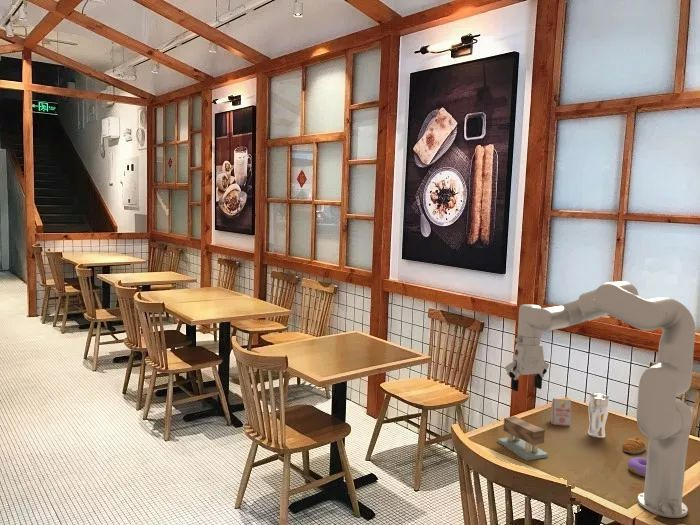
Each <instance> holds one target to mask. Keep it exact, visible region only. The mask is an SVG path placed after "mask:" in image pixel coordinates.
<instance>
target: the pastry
mask: <svg viewBox="0 0 700 525" xmlns="http://www.w3.org/2000/svg"><path fill="white" fill-rule="evenodd" d="M646 449H647V445H646V444H645V442H644V440H642V439H641V438H639V437H629V438H627V439H626V440H625V441H623V443H622V451H623V452H625V453H628V454H631V455H635V454H640V453H643V452H644V451H645V450H646Z"/></svg>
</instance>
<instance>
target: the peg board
mask: <svg viewBox="0 0 700 525" xmlns="http://www.w3.org/2000/svg"><path fill="white" fill-rule="evenodd" d="M497 442H498V443H499V444H500V443H501V444H500V445H502V446H503V445H504V447H505V448H506V447H507V448H506V449H508V450H509V449H510V450H509V451H510V452H512V451H513V453H514V454H515V453H516V454H515V455H517V456H518V457H519V458H522V459H523V460H524V459H525V460H524V461H533V460H539V459H546V458H549V453H547V452H546V451H544V450H542V449H541V448H539V444H537V445H532V444H530V443H528V442H526V441H524V440H522V439H520V438H518V437H516V436H514V435H512V434H509V433H507V437H501V438H497Z"/></svg>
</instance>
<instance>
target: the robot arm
mask: <svg viewBox="0 0 700 525" xmlns="http://www.w3.org/2000/svg"><path fill="white" fill-rule="evenodd" d="M609 315H610V316H611V317H614V318H616V319H617V320H620V321H621V322H623V323H625V324H627V325H630V326H632V327H634V328H635V329H639V330H641V331H655V330H658V329H659V330H660V329H661V330H662V333H661V336H660V339H659V344H658V351H657V352H658V353H657V360H656V363H655V364H654V365H651V366H649V367H648V368H646V369H645V370H644V371H643V372H642V374H641V376H640V379H639V382H638V390H637V391H638V392H637V404H636V405H637V406H636V422H637V426H638V429H639V430H640V431H641V433H642V434H643V436H645V437H646V438H648V444H647V455H646V458H647V464H646V476H645V477H644V490H643V492H641V493H639V494H638V495H637V498H636V499H637V500H636V501H637V503H638V504H640V505H641V506H643V507H644V508H646V509H647V510H649V511H650V513H651V512H652V514H654V515H657V516H660V517H665V518H671V519H678V518H679V519H680V518H684V517H686V516H687V515H688V510H689V509H688V506H687V505H686V504H685V503H684V502H683V494H684V493H683V492H684V482H685V470H686V460H687V452H688V442H689V439H690V435H691V429H692V426H693V415H692V411H691V409H690V407H689V406H688V405H687V403H686V402H684V401H683V400H681V399H679V398H677V397H680V396H681V395H683V394H685V393H687V392H688V391H689V389H690V388H691V385H692V378H693V377H692V376H693V366H694V364H693V363H694V353H695V352H694V350H695V339H696V324H695V320H694V316H693V315H692V313H691V312H690V310H689V309H688V308H687V307H686V306H685V305H684V304H682V303H681V302H679V300H676V299H673V298H671V297H666V296H665V297H654V298H649V299H646V298H643V297H640V296H639V292H638V289H637V288H636V286H635V285H633V284H632V283H630V282H628V281H611V282H605V283H602V284H601V285H599V286H598V287H597V288H596V289H594V290H590V291H587V292H584V293H582V294H580V295H579V296H578V299H576V300H574V301H573V300H572V301H571V302H567V303H564V304H562V305H557V306H556V305H555V306H549V307H541V306H540V305H539V304H538V305H537V304H532V303H531V304H529V303H528V304H527V303H524V304H521V305H520V306H519V308H518V323H517V324H518V325H517V327H518V328H517V337H515V339H514V341H515V342H516V344H515V346H514V351H513V358H512V362H510V363H508V364H507V365H506V366H504V367H505V368H504V369H505V371H506V374H507V375H508V377H509V378H510V388H511V390H512V391H514V392H519V377H520V376H525V375H526V376H527V375H534V382H533V385H534V388H537V389H539V390H541V389H542V387H543V386H542V385H543V378H544V377H545V375H546V373H547V370H548V369H549V366H550V364H549V363H548V362H546V361H545V359H544V358H545V357H544V349H543V344H541V339H542V338H541V337H542V336H541V335H542V331H543V332H549V331H553V330H560V329H565V328H567V327H571V326H575V325H578V324H581V323H584V322H587V321H593V320H596V319H599V318H602V317H605V316H609ZM640 505H639V506H640ZM641 506H640V507H641ZM643 507H642V508H643ZM644 508H643V509H644ZM647 510H646V511H647ZM649 511H648V512H649Z"/></svg>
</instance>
